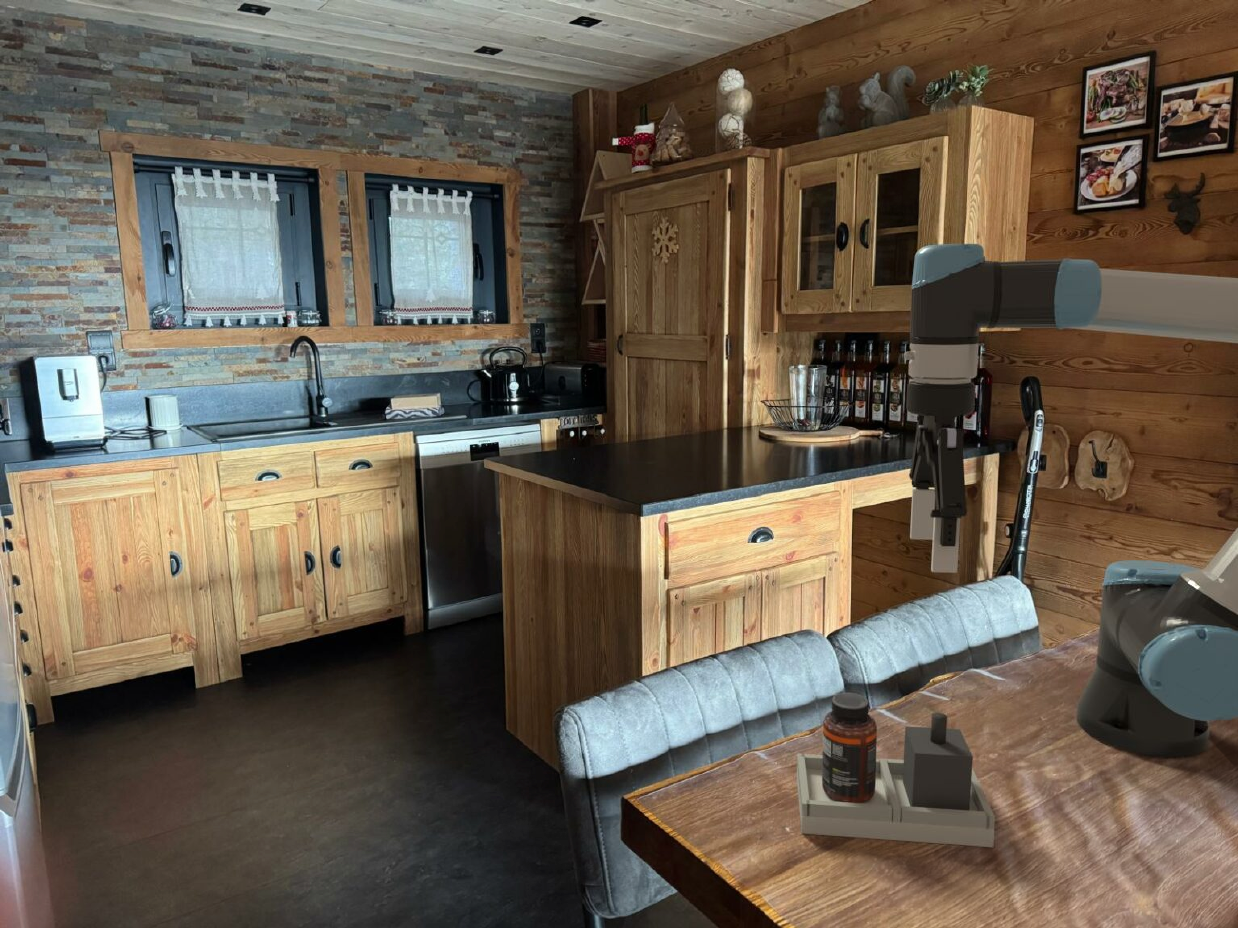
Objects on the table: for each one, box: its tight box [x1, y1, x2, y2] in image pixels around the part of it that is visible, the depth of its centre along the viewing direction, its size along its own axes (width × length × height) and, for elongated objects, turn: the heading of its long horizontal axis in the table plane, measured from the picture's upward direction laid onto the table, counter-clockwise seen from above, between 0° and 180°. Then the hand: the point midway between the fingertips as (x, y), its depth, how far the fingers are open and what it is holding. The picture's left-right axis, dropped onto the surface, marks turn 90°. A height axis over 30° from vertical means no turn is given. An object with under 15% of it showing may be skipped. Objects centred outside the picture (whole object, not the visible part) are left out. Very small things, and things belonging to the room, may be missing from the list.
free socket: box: [796, 753, 892, 822], centre depth 100 cm, size 10×11×2 cm
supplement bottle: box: [822, 692, 878, 803], centre depth 99 cm, size 6×6×11 cm
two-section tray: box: [796, 757, 996, 848], centre depth 99 cm, size 20×11×4 cm, turn 82°
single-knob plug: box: [903, 712, 974, 811], centre depth 97 cm, size 6×6×10 cm
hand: (931, 554), depth 106 cm, fingers open, 13 cm apart
